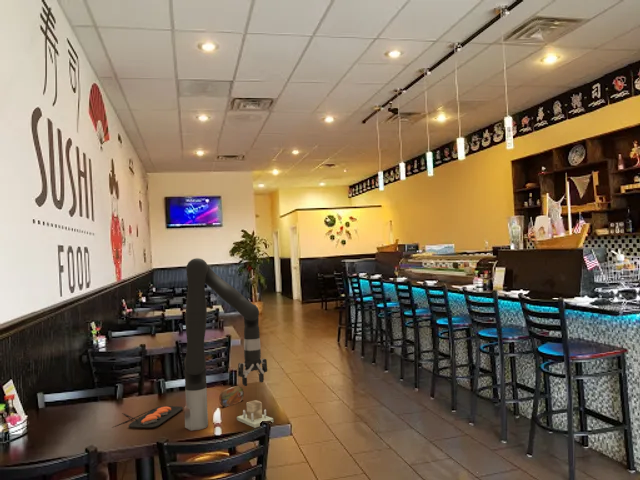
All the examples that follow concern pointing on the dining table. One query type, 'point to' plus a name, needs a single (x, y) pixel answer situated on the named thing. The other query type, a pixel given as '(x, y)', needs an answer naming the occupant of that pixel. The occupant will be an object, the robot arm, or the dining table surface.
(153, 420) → the sushi plate
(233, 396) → the tin
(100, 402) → the dining table surface
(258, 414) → the maple block
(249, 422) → the plate
